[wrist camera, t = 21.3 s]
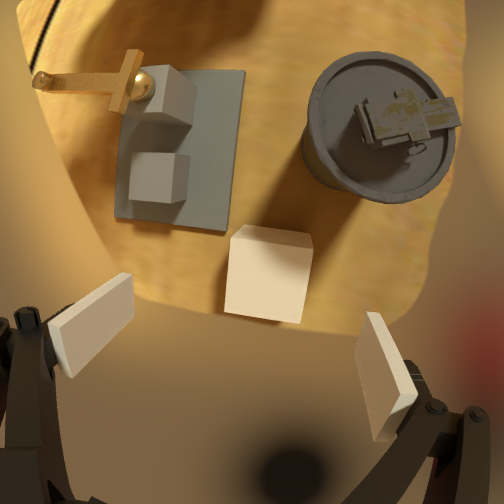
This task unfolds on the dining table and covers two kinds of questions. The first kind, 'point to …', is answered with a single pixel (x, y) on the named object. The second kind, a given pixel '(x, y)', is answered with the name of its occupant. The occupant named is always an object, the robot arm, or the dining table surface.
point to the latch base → (180, 149)
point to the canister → (379, 128)
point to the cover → (268, 273)
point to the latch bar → (104, 83)
